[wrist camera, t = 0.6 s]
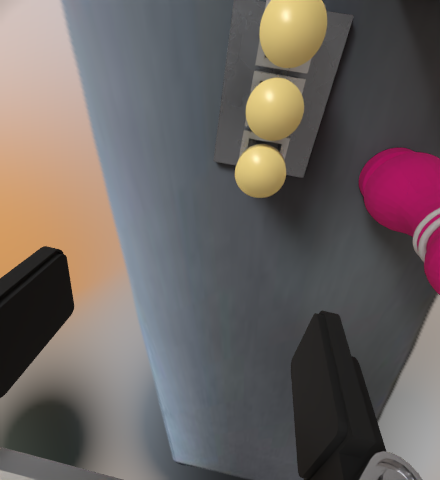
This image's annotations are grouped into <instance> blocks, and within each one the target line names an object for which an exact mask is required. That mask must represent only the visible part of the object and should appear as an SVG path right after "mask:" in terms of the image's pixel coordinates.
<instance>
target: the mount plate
mask: <svg viewBox="0 0 440 480" xmlns="http://www.w3.org/2000/svg"><path fill="white" fill-rule="evenodd" d="M270 1H271V0H266V2H262V1H256V0H234V3H233V11H232V19H231V27H230V35H229V43H228V51H227V59H226V66H225V74H224V82H223V90H222V98H221V106H220V114H219V122H218V130H217V138H216V146H215V153H214V162H220V163H225V164H231V165H237V162H238V160H239V157H240V156H241V154H242V153H243V152H244V151H245V150H246V149H247V148H249V147H251V146H253V145H257V144H267V145H270V146H273V147H274V148H276V149H277V150H278V151H279V152H280V153H281V154H282V156H283V158H284V161H285V166H286V175H290V176H295V177H301V178H303V177H304V174H305V170H306V167H307V164H308V161H309V158H310V154H311V151H312V148H313V145H314V142H315V138H316V135H317V132H318V129H319V126H320V122H321V119H322V116H323V113H324V110H325V107H326V103H327V100H328V97H329V94H330V91H331V87H332V84H333V81H334V78H335V75H336V71H337V68H338V65H339V62H340V59H341V55H342V52H343V49H344V46H345V43H346V39H347V36H348V33H349V30H350V27H351V23H352V20H353V17H354V15H348V14H342V13H335V12H328V11H326V13H327V30H326V34H325V37H324V40H323V42H322V45H321V46H320V48H319V50H318V51H317V52H316V54H315V55H314V56H313V57H312V58H311V59H310V60H309V61H307V62H306V63H304V64H302V65H300V66H298V67H294V68H282V67H279V66H276V65H274V64H273V63H272V62H270V61H269V59H268V58H267V57H266V55H265V54H264V52H263V49H262V46H261V42H260V23H261V19H262V16H263V13H264V11H265V9H266V7H267V6H268V4H269V3H270ZM324 6H326V5H324ZM276 77H278V78H284V79H287V80H289V81H290V82H292V83H293V84H294V85H296V87H297V88H298V89H299V90H300V92H301V94H302V97H303V101H304V113H303V117H302V120H301V122H300V124H299V126H298V127H297V128H296V130H295V131H294V132H293V133H292V134H290V135H289V136H287V137H286V138H283V139H281V140H276V141H269V140H264V139H262V138H260V137H258V136H257V135H255V134H254V133H253V132H252V130H251V129H250V127H249V125H248V123H247V119H246V105H247V101H248V98H249V96H250V94H251V93H252V91H253V90H254V89H255V88H256V86H258V85H259V84H260V83H261V82H263V81H265V80H267V79H270V78H276Z"/></svg>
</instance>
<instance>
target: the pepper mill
mask: <svg viewBox="0 0 440 480" xmlns="http://www.w3.org/2000/svg"><path fill="white" fill-rule="evenodd" d="M359 188H360V191H361V193H362V195H363V196H364V203H365V206H366V209H367V211H368V212H369V214H370V215H371V216H372V217H373V218H374V219H375V220H376V221H377V222H378V223H379V224H381V225H383V226H385V227H387V228H389V229H391V230H394V231H398V232H402V233H405V234H408V235H410V236H412V237H413V247H414V250H415V252H416V253H417V254H418V255H419V256H420V258H421V259H422V261H423V262H424V270H425V274H426V276H427V279H428V281H429V283H430V284H431V286H432V287H433V288H434V289H435V291H436V292H437V293H438V294H439V295H440V159H439V158H438V157H436V156H433V155H431V154H427V153H421V152H414V151H412V150H410V149H407V148H391V149H387V150H384V151H382V152H380V153H378V154H376V155H375V156H374V157H372V158H371V159H370V160H369V161H368V162H367V163H366V164H365V166H364V167H363V169H362V171H361V173H360V177H359Z"/></svg>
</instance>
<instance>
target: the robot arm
mask: <svg viewBox="0 0 440 480" xmlns="http://www.w3.org/2000/svg"><path fill="white" fill-rule="evenodd" d="M73 310H74V301H73V295H72V289H71V283H70V276H69V269H68V263H67V257H66V255H64V254H63V252H62V251H61V250H59V249H55V248H51V247H46V246H45V247H42V248H40V249H39V250H38V251H36V252H35V253H34V254H32V255H31V256H30V257H28V258H27V259H26V260H24V261H23V262H22V263H20V264H19V265H18V266H16V267H15V268H14V269H12V270H11V271H10V272H8V273H7V274H6V275H4V276H3V277H2V278H0V398H1V397H2V396H4V395H5V394H6V393H7V391H8V390H9V389H10V388H11V387H12V386H13V384H14V383H15V382H16V381H17V379H18V378H19V377H20V376H21V375H22V373H23V372H24V371H25V370H26V369H27V367H28V366H29V365H30V364H31V363H32V361H33V360H34V359H35V358H36V357H37V355H38V354H39V353H40V352H41V351H42V349H43V348H44V347H45V346H46V345H47V343H48V342H49V341H50V340H51V339H52V337H53V336H54V335H55V334H56V332H57V331H58V330H59V329H60V328H61V326H62V325H63V324H64V323H65V321H66V320H67V319H68V318H69V317H70V316H71V314H72V312H73ZM291 378H292V392H293V407H294V421H295V435H296V449H297V463H298V473H299V476H300V477H301V478H304V480H422V479H421V477H420V475H419V474H418V473H417V472H416V471H415V470H414V468H413V467H412V466H411V465H410V464H409V463H407V462H406V461H405V460H404V459H402V458H401V457H399V456H397V455H395V454H393V453H390V452H386V449H385V446H384V443H383V439H382V436H381V433H380V430H379V426H378V423H377V420H376V417H375V413H374V410H373V407H372V404H371V400H370V397H369V394H368V391H367V388H366V384H365V381H364V378H363V375H362V371H361V368H360V365H359V363H358V360H357V359H356V358H355V357H352V356H351V354H350V350H349V347H348V343H347V340H346V336H345V333H344V329H343V326H342V322H341V319H340V316H339V315H338V314H334V313H330V312H326V311H321V312H320V313H319V314H316V313H315V314H314V315H313V317H312V319H311V322H310V324H309V326H308V328H307V330H306V332H305V334H304V336H303V338H302V340H301V342H300V344H299V346H298V348H297V350H296V352H295V354H294V356H293V358H292V362H291ZM0 480H122V479H118V478H115V477H111V476H107V475H103V474H99V473H96V472H92V471H89V470H84V469H81V468H77V467H73V466H69V465H66V464H62V463H59V462H55V461H51V460H47V459H44V458H40V457H35V456H32V455H29V454H25V453H21V452H17V451H13V450H9V449H6V448H2V447H0Z"/></svg>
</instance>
